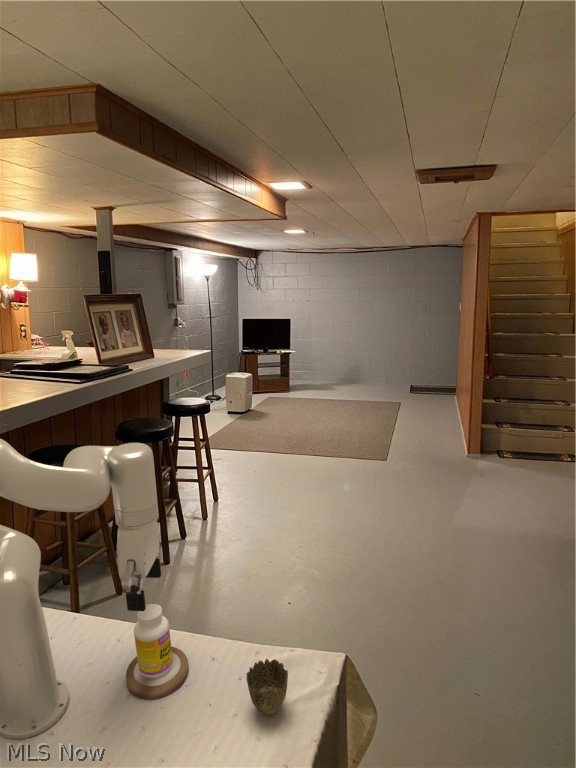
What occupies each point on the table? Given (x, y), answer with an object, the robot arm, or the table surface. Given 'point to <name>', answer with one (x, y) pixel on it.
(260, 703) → the brown scalloped shell
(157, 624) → the supplement bottle
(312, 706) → the table surface
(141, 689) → the plate
